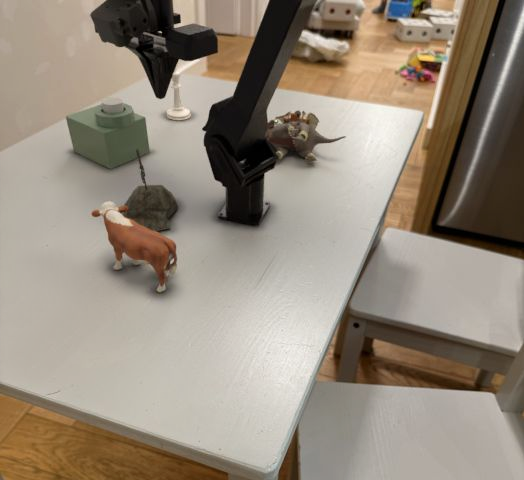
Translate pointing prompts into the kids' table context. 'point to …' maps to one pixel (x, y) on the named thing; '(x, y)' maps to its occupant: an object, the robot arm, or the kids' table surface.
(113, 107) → the flush button
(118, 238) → the bull figurine
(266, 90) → the robot arm
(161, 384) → the kids' table surface
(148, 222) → the sword in stone
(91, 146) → the green push button box
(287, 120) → the figurine
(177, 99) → the chess piece
